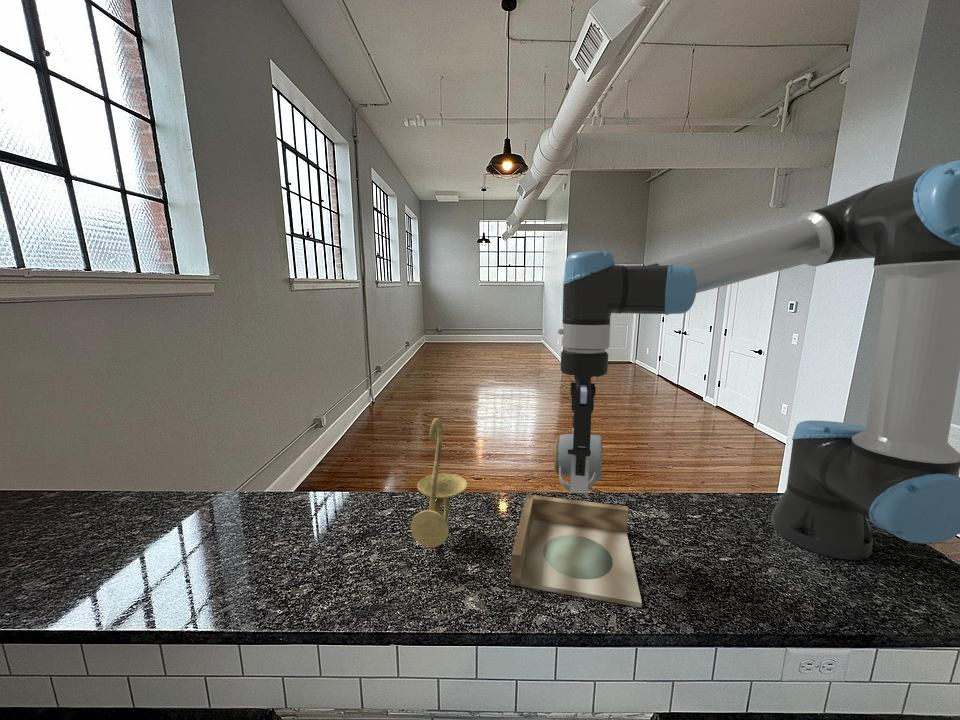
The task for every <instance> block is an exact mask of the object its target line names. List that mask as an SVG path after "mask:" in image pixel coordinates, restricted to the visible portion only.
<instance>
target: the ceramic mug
mask: <svg viewBox="0 0 960 720" xmlns="http://www.w3.org/2000/svg"><path fill="white" fill-rule="evenodd" d="M573 436H574V434H572V433H565V434H563V433H562V434H559V435H557V436H556V437H555V442H554V450H553V466H554V471H555V473H556V474H558V475H559V476H558V477H559V482H560V484H561V486H562V487H563V489H565V490H567V491H568V492H570V483H568V482H567V481H566V480H565V479H564V477H568V478H571V459H572V454H568V449H569V450H572V449H573ZM583 448H586V447H583ZM590 451H591V454H590V458H589V477H588V491H590V490H592V488H593V487H594V485H595V484H596V481H597V482H602V480H603V435H602V434H591V436H590ZM563 476H564V477H563Z"/></svg>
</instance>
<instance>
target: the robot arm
mask: <svg viewBox="0 0 960 720" xmlns="http://www.w3.org/2000/svg"><path fill="white" fill-rule="evenodd" d="M863 259H874V260H873V270H875V271H876V272H878V273H879V274H880V275H881V276H882V277H883V278H884V279H885V284H884V290H883V299H882V304H881V305H882V308H881V314H880V322H879V330H878V337H877V343H876V351H875V358H874V359H875V360H874V366H873V367H874V368H873V376H872V381H871V382H872V383H871V390H870V399H869V404H868V405H869V406H868V411H867V412H868V413H867V419H866V425H861V424H855V423H847V422H842V421H841V422H839V421H831V420H804V421H800V422H799V423H797V424H796V426H795V428H794V432H793V435H792V439H791V441H792V444H791V453H790V460H789V461H790V462H789V467H788V476H787V482H786V483H787V484H786V488H785V491H784V493H783V494H782V495H781V497H780V498H779V500H778V501H777V503H776V505H775V506H774V508H773V510H772V513H771V518H770V519H771V520H770V524H771V527H772V526H773V527H772V528H773V530H774V531H776V533H778V535H780V536H781V537H783V538H784V539H786V540H787V541H789V542H790V543H792V544H794V545H796V546H798V547H801V548H804V549H805V550H808V551H810V552H813V553H817V554H819V555H823V556H826V557H830V558H835V559H841V560H846V561H847V560H850V561H857V560H858V561H861V560H864V559H867V558H869V557H870V556H871V554H872V551H873V546H874V545H873V544H874V541H873V540H874V539H873V536H872V533H871V532H872V531H871V527H870V525H869V521H871V522H872V525H873V524H874V526H876V527H877V528H879V529H882V530H884V531H886V532H888V533H890V534H892V535H893V536H895V537H897V538H899V539H901V540H904V541H907V542H910V543H914V544H936V543H937V544H938V543H942V542H945V541H948V540H951V539H953V538H954V537H956V536H957V535H960V452H959V451H958V450H956V449H955V448H954V447H953V446H952V445H950V443H949V435H950V430H951V424H952V419H953V413H954V408H955V407H954V405H955V401H956V394H957V389H958V383H959V376H960V159H958V160H954V161H948V162H941V163H939V164H937V165H934V166H932V167H930V168H927V169H923V170H921V171H918V172H915V173H912V174H909V175H905V176H902V177H899V178H896V179H894V180H889V181H886V182H884V183H880V184H875V185H874V186H871V187H869V188H867V189H864V190H861V191H859V192H857V193H855V194H852V195H850V196H848V197H846V198H843V199H840V200H838V201H836V202H833V203H831V204H828V205H826V206H825V205H824V206H823V207H820V208H817V209H814V210H810V211H807V212H804V213H803V214H801V215H800V216H799V217H798V218H797V220H796V221H793V222H791V223H787V224H784V225H781V226H777V227H774V228H770V229H767V230H763V231H759V232H757V233H752V234H750V235H746V236H743V237H740V238H736V239H733V240H729V241H726V242H722V243H719V244H715V245H712V246H709V247H708V246H707V247H705V248H702V249H698V250H696V251H691V252H688V253H685V254H682V255H678V256H675V257H671V258H668V259H666V260H665V259H664V260H661V261H658V262H654V263H651V264H647V265H620V264H615V263H616V262H615V258H614V254H613V253H611V252H610V251H599V250H598V251H595V250H594V251H593V250H592V251H578V252H573V253H570V255H568V256H567V258H566V259H565V264H564V275H563V282H562V321H561V322H562V328H558V330H557V331H558V332H557V333H558V335H560V336H561V335H562V337H561V346H562V347H563V348H564V349H562V351H561V352H560V367H559V368H560V371H561V373H562V374H565V375H567V376H574V382H573V381H571V382H570V397H571V412H572V413H573V416H572V420H573V421H572V427H573V428H572V431H571V434H574V436H573V449H572V450H569V449H568V454H572V459H571V477H570V483H569V484H570V491H569V492H570V493H574V494H575V493H577V494H582V495H583V494H585V495H588V494H589V490H588V482H589V479H588V477H589V458H590V454H591V451H590V436H591V435H592V434H591V433H592V432H591V431H592V430H591V429H592V413H593V412H594V409H595V407H594V403H595V401H594V400H595V397H596V385H595V383H594V382H593V383H592V380H591V379H592V378H594V377H602V376H605V375H607V373H608V365H609V353H608V351H606V350H608V349H609V348H610V340H611V339H610V338H611V337H610V336H611V316H612V315H611V314H638V315H641V314H642V315H643V314H644V315H645V314H646V315H664V316H668V315H674V314H675V315H677V314H679V315H680V314H686V313H687V312H689V311H690V310H691V308H692V307H693V305H694V303H695V301H696V300H695V299H696V296H697V294H698V293H702V292H706V291H711V290H713V289H718V288H720V287H724V286H727V285H732V284H736V283H739V282H743V281H746V280H749V279H750V280H751V279H753V278H758V277H761V276H765V275H768V274H772V273H777V272H779V271H784V270H788V269H791V268H794V267H798V266H802V265H807V266H810V267H819V266H823V265H827V264H831V263H836V262H842V261H844V262H845V261H852V260H863ZM583 447H586V448H583Z"/></svg>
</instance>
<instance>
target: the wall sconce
mask: <svg viewBox="0 0 960 720" xmlns="http://www.w3.org/2000/svg"><path fill="white" fill-rule="evenodd" d="M442 424H443V423H442V420H441V419H440V418H439V417H435V418H434V419H433V420H432V421H431V424H430V429H429V441H430V443H432V444H436V447H435V448H436V449H435V454H434V455H435V456H434V462H433V468H432V473H431V474H430V475H428V476H426V477H424V478H422V479H420V480H419V481H418V483H417V490H418V491H419V492H420V493H421V494H422V495H424V496H426V497H428V498H429V504H428V505H429V507H428V508H429V509H427V510H422V511H420V512H418V513H416V514H415V516H413V518H412V520H411V524H410V531H411V534H412V537H413V538H414V540H415V541H416V542H418V543H419V544H420V545H422V546H424V547H427V548H436V547H440V546H441V545H443V544H444V543H445V542H446V540H447V539H448V537H449V533H450V529H449V524H448V520H449V512H450V511H449V510H450V498H453V497H455V496H458V495H460V494H462V493H463V492H464V491H466V488H467V486H468V482H467V480H466V479H465V478H464V477H462V476H460V475H458V474H454V473H439V466H440V461H441V454H442V446H443V435H444V433H443V425H442ZM436 431H437V433H436ZM443 506H444V507H443ZM442 508H443V512H441V509H442Z"/></svg>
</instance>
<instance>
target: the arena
mask: <svg viewBox="0 0 960 720" xmlns="http://www.w3.org/2000/svg"><path fill="white" fill-rule="evenodd" d="M628 520H629V508H628V506H626V505H619V504H617V505H616V504H610V503H602V502H601V503H599V502H593V501H592V502H591V501H584V500H577V499H576V500H575V499H568V498H561V497H551V496H544V495H536V494H534V495H533V494H528V493H527V494H526V496H525V499H524V503H523V507H522V511H521V515H520V519H519V524H518V527H517V531H516V536H515V540H514V543H513V547H512V552H511V567H510V568H511V570H510V573H511V574H510V585H511V586H517V587H521V588H526V589H527V588H529V589H534V590H538V591H546V592H550V593H556V594H562V595H567V596H573V597H579V598H585V599H591V600H594V601H595V600H596V601H602V602H607V603H613V604H620V605H624V606H630V607H637V608H642V606H643V602H642V596H641V592H640V588H639V582H638V578H637V573H636V569H635V564H634V560H633V555H632V554H633V553H632V551H631V546H630V542H629V537H628Z"/></svg>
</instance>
